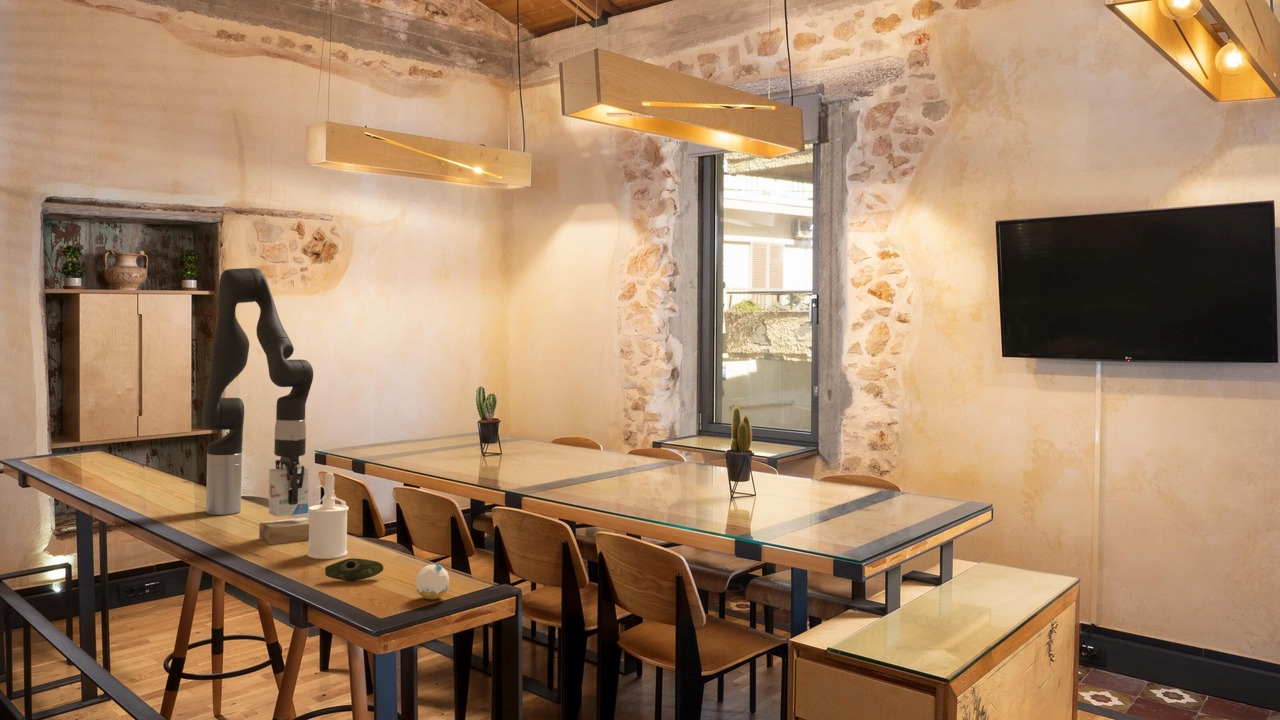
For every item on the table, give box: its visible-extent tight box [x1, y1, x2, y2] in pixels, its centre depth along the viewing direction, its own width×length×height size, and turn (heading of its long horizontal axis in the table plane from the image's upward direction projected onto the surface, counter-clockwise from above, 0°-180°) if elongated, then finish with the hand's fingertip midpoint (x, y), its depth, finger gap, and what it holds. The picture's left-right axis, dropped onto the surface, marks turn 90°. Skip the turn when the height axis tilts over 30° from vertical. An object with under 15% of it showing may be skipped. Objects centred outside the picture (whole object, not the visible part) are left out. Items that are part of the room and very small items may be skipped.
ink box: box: [268, 467, 310, 518], centre depth 241 cm, size 9×5×12 cm, turn 134°
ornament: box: [415, 561, 451, 601], centre depth 193 cm, size 7×7×8 cm
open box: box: [258, 516, 309, 545], centre depth 241 cm, size 8×12×4 cm, turn 131°
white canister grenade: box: [307, 471, 350, 560], centre depth 227 cm, size 10×9×20 cm
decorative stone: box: [324, 557, 384, 583], centre depth 205 cm, size 11×8×5 cm
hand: (288, 502), depth 241 cm, fingers closed on ink box, 5 cm apart
